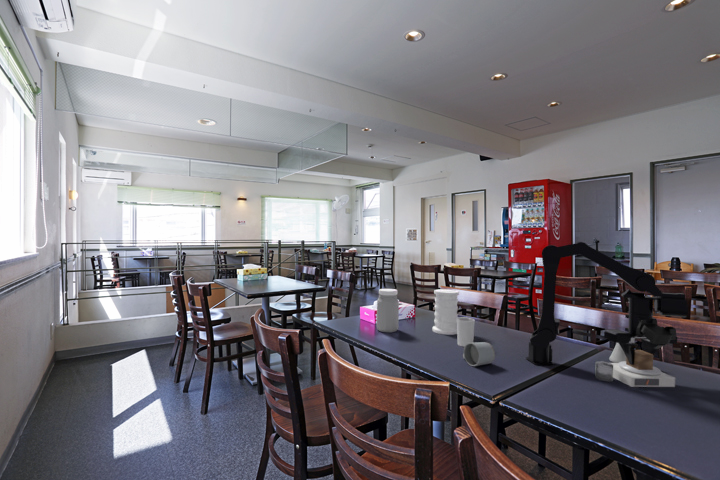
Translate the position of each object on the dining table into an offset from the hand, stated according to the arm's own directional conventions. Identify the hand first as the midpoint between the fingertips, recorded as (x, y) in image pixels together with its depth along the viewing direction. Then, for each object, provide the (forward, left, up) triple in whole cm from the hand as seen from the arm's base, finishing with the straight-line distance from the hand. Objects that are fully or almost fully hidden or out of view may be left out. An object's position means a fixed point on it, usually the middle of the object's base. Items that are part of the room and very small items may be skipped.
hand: (639, 364), depth 107 cm
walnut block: (0, 0, -1) cm, 1 cm away
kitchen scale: (-1, 0, -4) cm, 4 cm away
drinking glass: (-42, +33, -4) cm, 54 cm away
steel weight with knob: (-11, 0, -4) cm, 12 cm away
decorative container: (-44, +53, -4) cm, 69 cm away
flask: (+6, +14, -4) cm, 16 cm away
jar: (-70, +54, -4) cm, 89 cm away
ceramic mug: (-45, +13, -4) cm, 47 cm away
